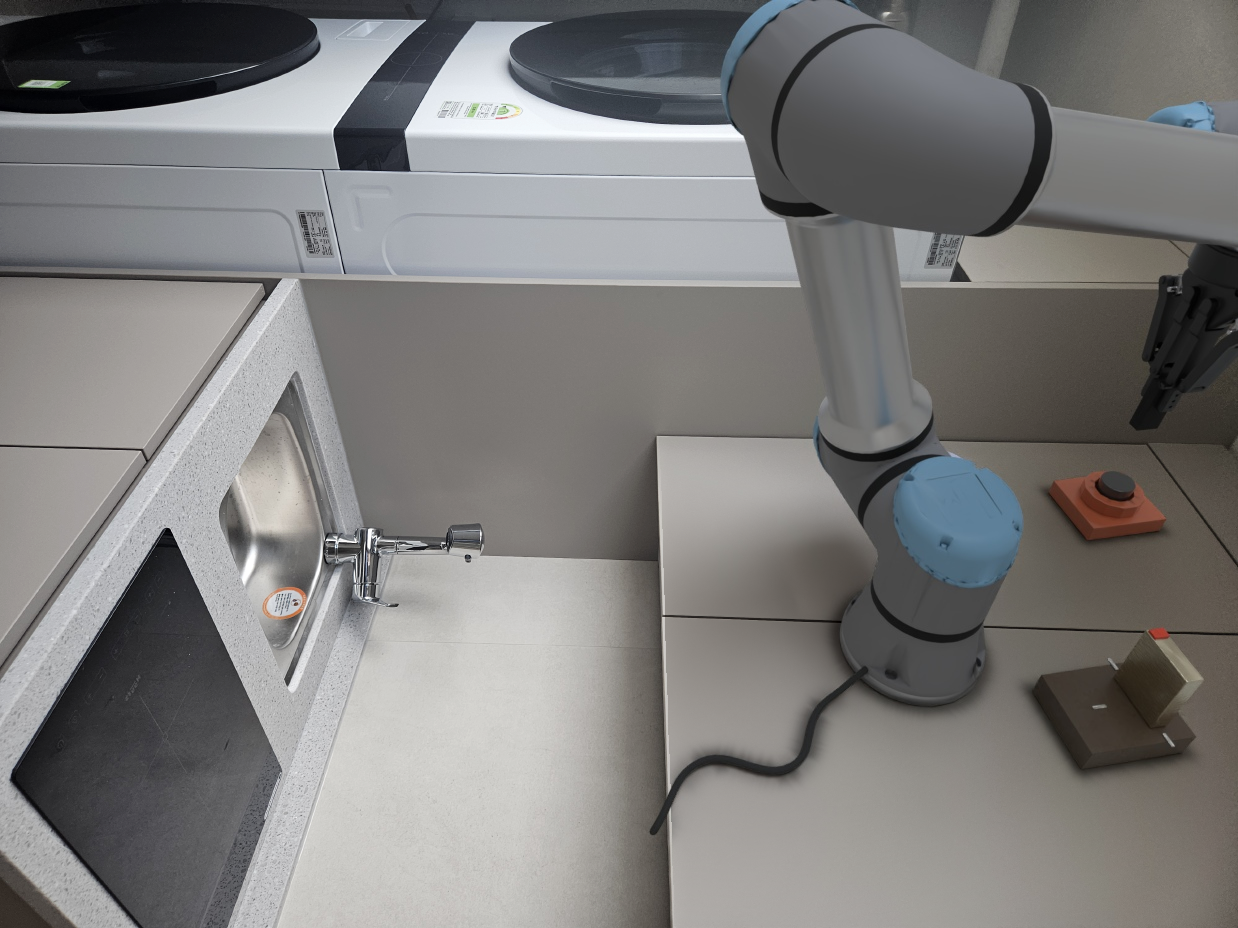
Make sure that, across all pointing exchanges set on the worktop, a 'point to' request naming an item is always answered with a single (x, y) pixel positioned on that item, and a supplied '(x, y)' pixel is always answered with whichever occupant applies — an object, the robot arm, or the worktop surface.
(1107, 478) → the button
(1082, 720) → the panel
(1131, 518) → the button box
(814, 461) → the worktop surface
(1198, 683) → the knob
